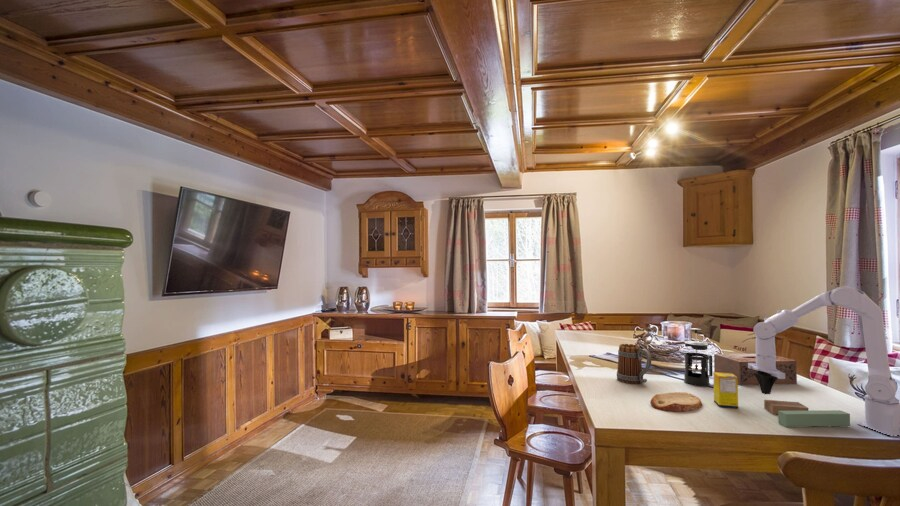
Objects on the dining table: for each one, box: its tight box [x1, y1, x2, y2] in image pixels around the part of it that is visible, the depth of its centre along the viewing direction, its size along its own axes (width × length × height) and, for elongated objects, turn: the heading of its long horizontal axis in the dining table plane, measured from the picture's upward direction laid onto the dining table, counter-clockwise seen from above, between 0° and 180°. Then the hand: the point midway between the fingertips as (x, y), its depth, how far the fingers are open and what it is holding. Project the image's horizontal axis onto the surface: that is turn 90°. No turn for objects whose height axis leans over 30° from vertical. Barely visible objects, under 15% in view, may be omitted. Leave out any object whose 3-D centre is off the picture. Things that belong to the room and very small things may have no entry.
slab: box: [763, 399, 810, 416], centre depth 139 cm, size 6×10×4 cm, turn 75°
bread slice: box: [649, 391, 703, 413], centre depth 148 cm, size 18×18×4 cm
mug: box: [616, 343, 652, 385], centre depth 175 cm, size 16×11×15 cm
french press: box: [683, 327, 714, 387], centre depth 174 cm, size 12×9×23 cm
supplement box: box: [712, 371, 739, 409], centre depth 147 cm, size 6×6×11 cm
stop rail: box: [777, 409, 851, 428], centre depth 128 cm, size 3×20×4 cm, turn 91°
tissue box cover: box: [713, 352, 798, 386], centre depth 179 cm, size 26×14×10 cm, turn 95°
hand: (765, 393), depth 147 cm, fingers closed
